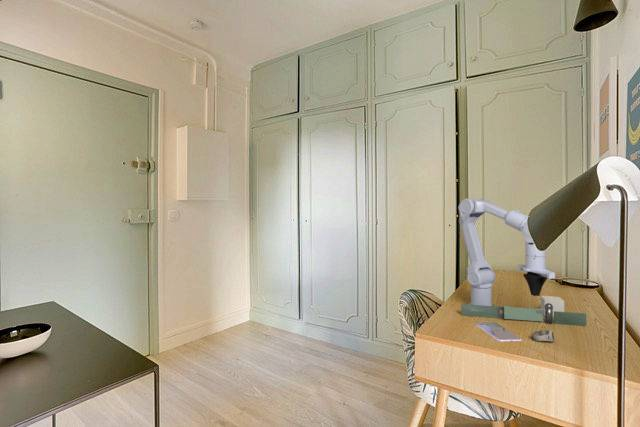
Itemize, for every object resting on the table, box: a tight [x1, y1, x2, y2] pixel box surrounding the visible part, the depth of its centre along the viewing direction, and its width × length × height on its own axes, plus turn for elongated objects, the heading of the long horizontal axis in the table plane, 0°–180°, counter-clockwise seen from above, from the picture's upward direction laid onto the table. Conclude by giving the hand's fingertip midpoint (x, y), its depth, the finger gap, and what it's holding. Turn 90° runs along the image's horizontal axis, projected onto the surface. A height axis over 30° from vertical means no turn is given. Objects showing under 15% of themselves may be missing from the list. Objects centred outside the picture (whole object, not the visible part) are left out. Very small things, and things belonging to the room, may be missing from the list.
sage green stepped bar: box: [502, 304, 544, 322], centre depth 114 cm, size 12×2×4 cm, turn 74°
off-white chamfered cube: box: [540, 295, 565, 317], centre depth 121 cm, size 6×6×6 cm
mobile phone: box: [475, 321, 523, 342], centre depth 104 cm, size 8×1×15 cm
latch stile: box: [460, 303, 505, 320], centre depth 119 cm, size 1×15×4 cm, turn 74°
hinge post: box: [544, 303, 587, 327], centre depth 110 cm, size 2×12×7 cm, turn 74°
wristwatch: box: [531, 329, 555, 343], centre depth 97 cm, size 4×6×5 cm
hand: (535, 295), depth 110 cm, fingers closed
